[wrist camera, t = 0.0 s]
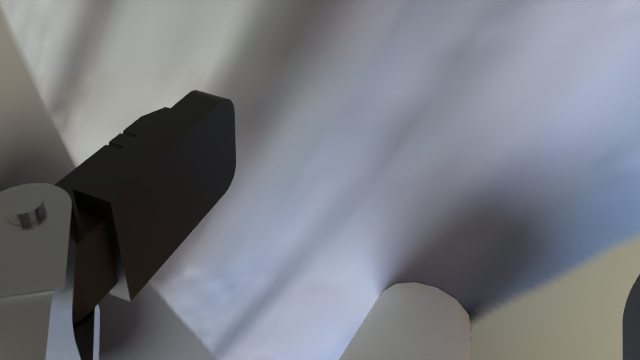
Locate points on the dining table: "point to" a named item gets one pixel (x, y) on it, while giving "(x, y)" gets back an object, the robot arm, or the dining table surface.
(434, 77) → the dining table surface
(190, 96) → the robot arm
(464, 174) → the dining table surface
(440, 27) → the dining table surface
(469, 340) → the foam cup
